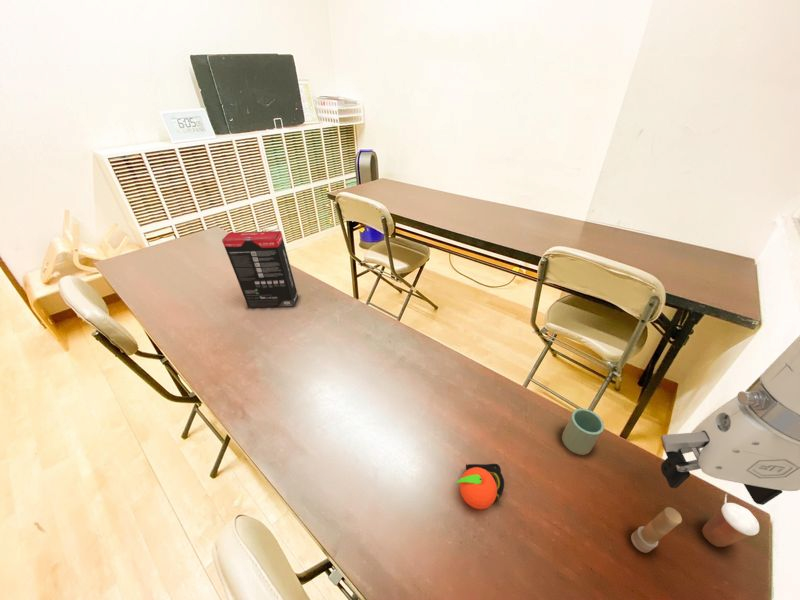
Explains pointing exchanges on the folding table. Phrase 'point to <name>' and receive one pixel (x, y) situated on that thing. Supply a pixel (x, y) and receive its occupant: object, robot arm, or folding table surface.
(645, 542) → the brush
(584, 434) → the cup
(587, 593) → the folding table surface
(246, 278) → the graphics card box
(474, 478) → the clementine
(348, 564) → the folding table surface
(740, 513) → the milkshake
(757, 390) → the robot arm
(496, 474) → the tape measure
